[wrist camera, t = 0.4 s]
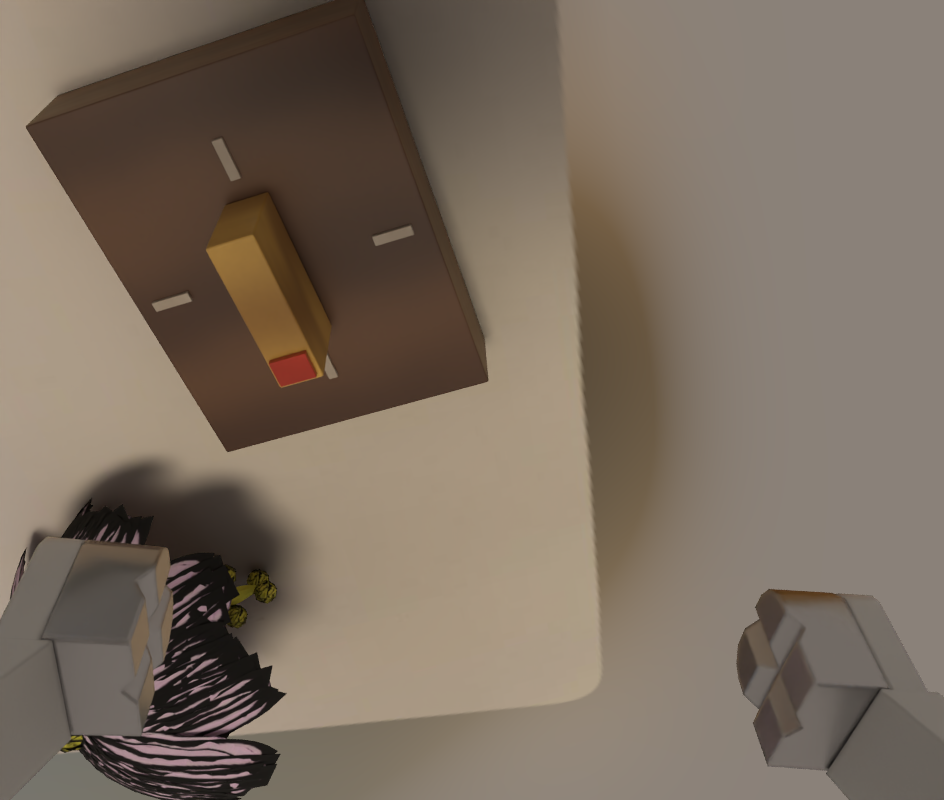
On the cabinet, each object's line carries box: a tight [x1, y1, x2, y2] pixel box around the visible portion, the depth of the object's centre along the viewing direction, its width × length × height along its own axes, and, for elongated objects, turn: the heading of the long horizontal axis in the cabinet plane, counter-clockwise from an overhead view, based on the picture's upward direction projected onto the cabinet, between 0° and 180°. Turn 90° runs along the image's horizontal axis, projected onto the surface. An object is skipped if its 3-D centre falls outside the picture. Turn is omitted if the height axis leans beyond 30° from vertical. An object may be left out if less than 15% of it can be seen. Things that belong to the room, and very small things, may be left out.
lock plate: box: [26, 0, 488, 452], centre depth 32 cm, size 14×11×3 cm
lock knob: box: [206, 192, 332, 388], centre depth 30 cm, size 6×2×3 cm, turn 17°
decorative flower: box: [10, 498, 287, 800], centre depth 40 cm, size 14×12×15 cm
